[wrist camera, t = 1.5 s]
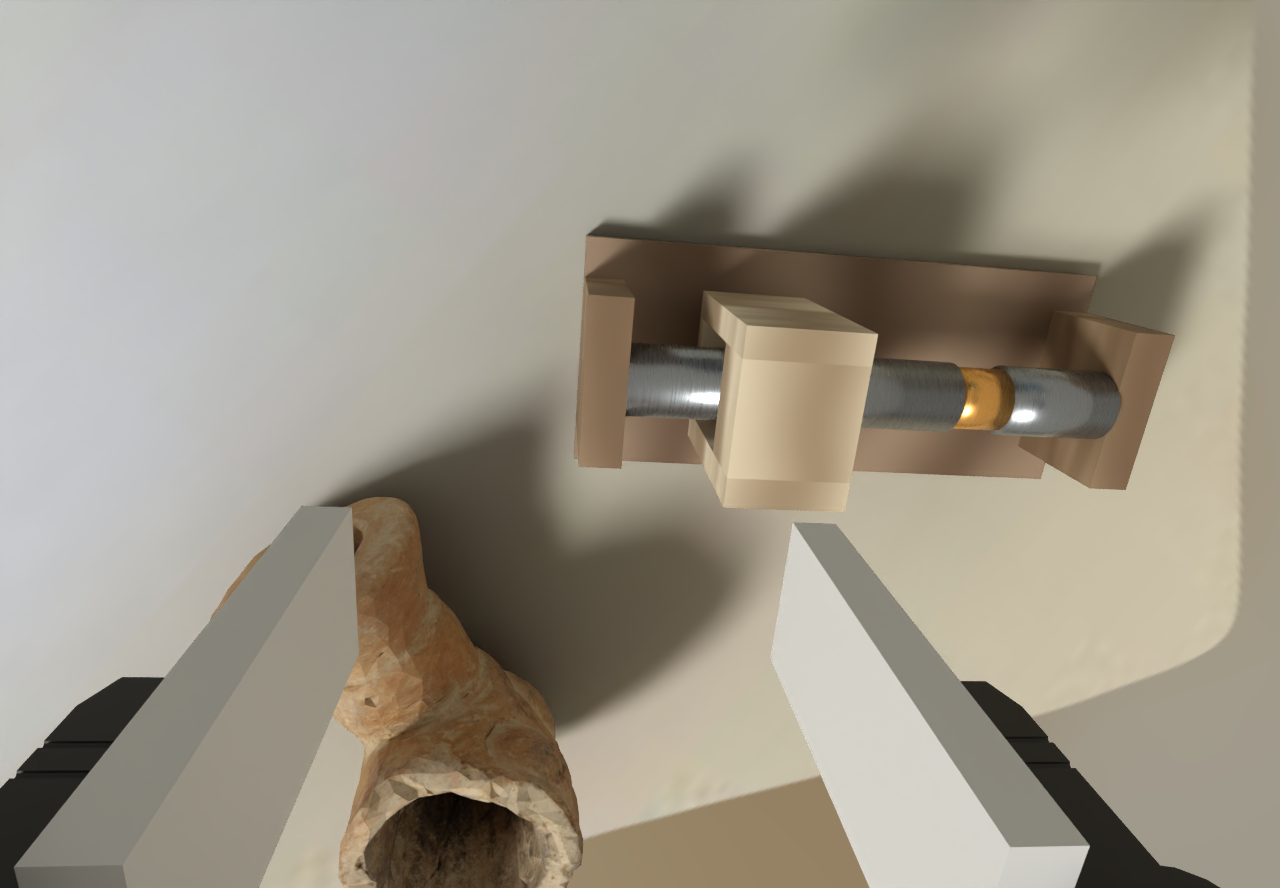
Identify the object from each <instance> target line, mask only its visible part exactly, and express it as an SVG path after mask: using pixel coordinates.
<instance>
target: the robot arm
mask: <svg viewBox="0 0 1280 888" xmlns="http://www.w3.org/2000/svg"><path fill="white" fill-rule="evenodd" d="M358 655H359V647H358V626H357V605H356V584H355V563H354V542H353V521H352V507H324V506H301V507H300V509H299V510H298V511H297V512H296V514H295V515H294V516H293V517H292V519H291V520H290V521H289V522H288V524H287V525H286V526H285V527H284V529H283V530H282V531H281V532H280V534H279V535H278V536H277V538H276V539H275V540H274V541H273V543H272V544H271V545H270V546H269V548H268V549H267V550H266V551H265V553H264V554H263V555H262V556H261V558H260V559H259V560H258V561H257V563H256V564H255V565H254V566H253V568H252V569H251V570H250V571H249V573H248V574H247V575H246V576H245V578H244V579H243V580H242V581H241V583H240V584H239V585H238V586H237V588H236V589H235V590H234V591H233V593H232V594H231V595H230V596H229V598H228V599H227V600H226V602H225V603H224V604H223V605H222V607H221V608H220V609H219V610H218V612H217V613H216V614H215V615H214V617H213V618H212V619H211V620H210V622H209V623H208V624H207V625H206V627H205V628H204V629H203V630H202V632H201V633H200V634H199V635H198V637H197V638H196V639H195V640H194V642H193V643H192V644H191V645H190V647H189V648H188V649H187V650H186V652H185V653H184V654H183V655H182V657H181V658H180V659H179V660H178V662H177V663H176V664H175V666H174V667H173V668H172V669H171V671H170V672H169V673H168V674H167V676H166V677H165V678H151V677H122V678H120V679H118V680H117V681H115V682H114V683H112V684H110V685H109V686H107V687H106V688H104V689H103V690H101V691H99V692H98V693H96V694H95V695H93V696H92V697H90V698H88V699H87V700H85V701H84V702H82V703H80V704H79V705H77V706H76V707H75V708H74V709H73V710H72V711H71V712H70V714H69V715H68V716H67V717H66V718H65V719H64V720H63V721H62V722H61V723H60V724H59V725H58V727H57V728H56V729H55V730H54V731H53V732H52V733H51V734H50V735H49V736H48V737H47V739H46V740H45V741H44V746H43V748H37V749H36V750H35V752H34V753H33V754H32V755H31V756H30V757H29V758H28V759H27V760H26V761H25V762H24V763H23V765H22V766H21V767H20V768H19V769H18V770H17V774H16V777H15V778H14V779H9V780H8V781H7V782H6V783H5V784H4V785H3V786H2V787H1V788H0V888H259V885H260V883H261V881H262V879H263V876H264V874H265V872H266V869H267V867H268V865H269V862H270V860H271V858H272V855H273V853H274V851H275V848H276V846H277V844H278V841H279V839H280V837H281V834H282V832H283V830H284V827H285V825H286V823H287V820H288V818H289V816H290V813H291V811H292V809H293V806H294V804H295V802H296V799H297V797H298V795H299V792H300V790H301V788H302V785H303V783H304V781H305V778H306V776H307V774H308V771H309V769H310V767H311V764H312V762H313V760H314V757H315V755H316V753H317V750H318V748H319V746H320V743H321V741H322V739H323V736H324V734H325V732H326V729H327V727H328V725H329V722H330V720H331V718H332V715H333V713H334V711H335V708H336V706H337V704H338V701H339V699H340V697H341V694H342V692H343V690H344V687H345V685H346V683H347V680H348V678H349V676H350V673H351V671H352V669H353V666H354V664H355V662H356V659H357V657H358ZM771 661H772V663H773V665H774V668H775V670H776V672H777V675H778V677H779V679H780V682H781V684H782V686H783V689H784V691H785V693H786V695H787V698H788V700H789V702H790V705H791V707H792V709H793V712H794V714H795V716H796V719H797V721H798V723H799V726H800V728H801V730H802V732H803V735H804V737H805V739H806V742H807V744H808V746H809V749H810V751H811V753H812V756H813V758H814V760H815V763H816V765H817V767H818V769H819V772H820V774H821V776H822V779H823V781H824V783H825V785H826V788H827V790H828V793H829V795H830V797H831V799H832V802H833V804H834V806H835V809H836V811H837V813H838V816H839V818H840V820H841V823H842V825H843V827H844V830H845V832H846V834H847V836H848V839H849V841H850V843H851V846H852V848H853V850H854V853H855V855H856V857H857V859H858V862H859V864H860V866H861V869H862V871H863V873H864V876H865V878H866V880H867V883H868V885H869V887H870V888H1220V887H1218V886H1216V885H1215V884H1213V883H1211V882H1210V881H1208V880H1206V879H1204V878H1201V877H1198V876H1196V875H1193V874H1191V873H1188V872H1185V871H1183V870H1180V869H1177V868H1175V867H1174V868H1173V867H1166V866H1160V865H1159V864H1158V863H1157V861H1156V860H1155V859H1154V858H1153V857H1152V856H1151V855H1150V853H1149V852H1148V851H1147V850H1146V849H1145V848H1144V847H1143V845H1142V844H1141V843H1140V842H1139V841H1138V840H1137V838H1136V837H1135V836H1134V835H1133V834H1132V833H1131V832H1130V830H1129V829H1128V828H1127V827H1126V826H1125V825H1124V823H1122V821H1121V820H1120V819H1119V818H1118V817H1117V815H1116V814H1115V813H1114V812H1113V811H1112V810H1111V809H1110V807H1109V806H1108V805H1107V804H1106V803H1105V802H1104V800H1103V799H1102V798H1101V797H1100V796H1099V795H1098V794H1097V792H1096V791H1095V790H1094V789H1093V788H1092V787H1091V786H1090V784H1089V783H1088V782H1087V781H1086V780H1085V779H1084V777H1083V776H1082V775H1081V774H1080V773H1079V772H1078V771H1077V770H1076V768H1071V767H1070V762H1069V760H1068V759H1067V758H1066V757H1065V756H1064V754H1062V752H1061V751H1060V750H1059V749H1058V748H1057V747H1056V745H1055V744H1054V743H1049V741H1048V736H1047V735H1046V734H1045V733H1044V731H1043V730H1042V729H1041V728H1040V727H1039V726H1038V725H1037V723H1036V722H1035V721H1034V720H1033V719H1032V718H1031V716H1030V715H1029V714H1028V713H1027V712H1026V711H1025V710H1024V708H1023V707H1022V706H1020V705H1019V704H1017V703H1016V702H1015V701H1013V700H1012V699H1010V698H1009V697H1007V696H1006V695H1005V694H1003V693H1002V692H1000V691H999V690H997V689H996V688H995V687H993V686H992V685H990V684H989V683H987V682H986V681H959V679H958V678H957V677H956V675H955V674H954V673H953V672H952V670H951V669H950V668H949V667H948V665H947V664H946V663H945V662H944V660H943V659H942V658H941V656H940V655H939V654H938V653H937V651H936V650H935V649H934V648H933V646H932V645H931V644H930V643H929V641H928V640H927V639H926V638H925V636H924V635H923V634H922V632H921V631H920V630H919V629H918V627H917V626H916V625H915V624H914V622H913V621H912V620H911V619H910V617H909V616H908V615H907V613H906V612H905V611H904V610H903V608H902V607H901V606H900V605H899V603H898V602H897V601H896V600H895V598H894V597H893V596H892V594H891V593H890V592H889V591H888V589H887V588H886V587H885V586H884V584H883V583H882V582H881V581H880V579H879V578H878V577H877V575H876V574H875V573H874V572H873V570H872V569H871V568H870V567H869V565H868V564H867V563H866V562H865V560H864V559H863V558H862V557H861V555H860V554H859V553H858V551H857V550H856V549H855V548H854V546H853V545H852V544H851V543H850V541H849V540H848V539H847V538H846V536H845V535H844V534H843V532H842V531H841V530H840V529H839V527H838V526H837V525H836V524H822V523H793V525H792V531H791V537H790V543H789V549H788V556H787V562H786V568H785V574H784V580H783V586H782V592H781V598H780V604H779V610H778V616H777V622H776V628H775V635H774V641H773V647H772V653H771Z"/></svg>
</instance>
